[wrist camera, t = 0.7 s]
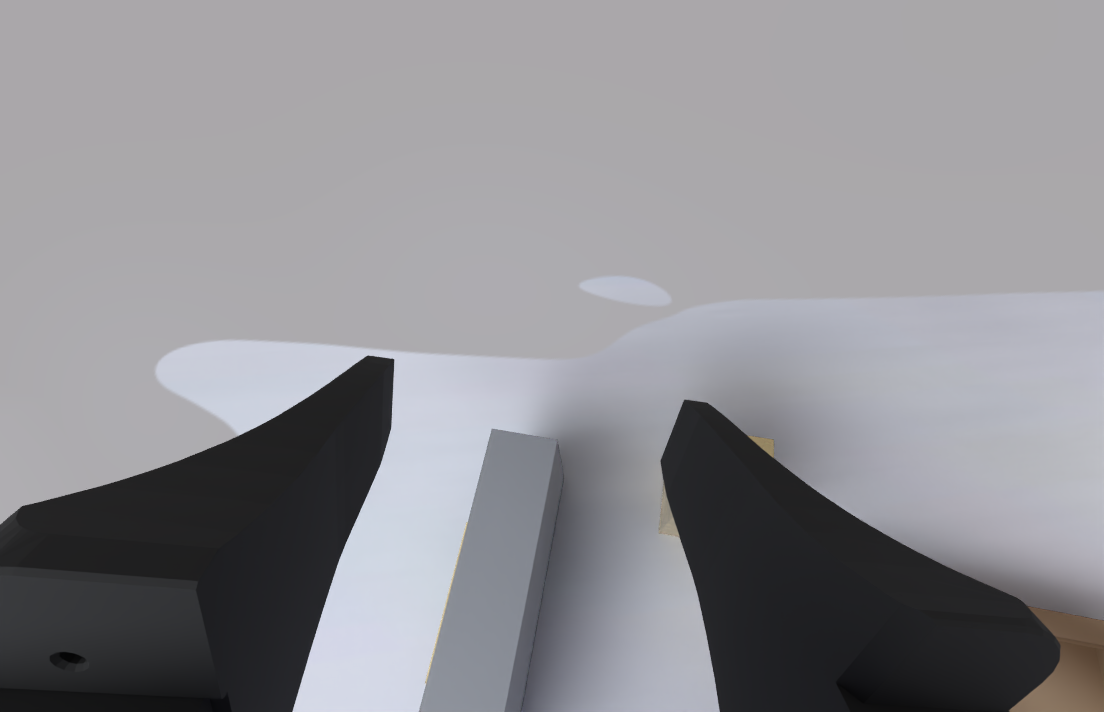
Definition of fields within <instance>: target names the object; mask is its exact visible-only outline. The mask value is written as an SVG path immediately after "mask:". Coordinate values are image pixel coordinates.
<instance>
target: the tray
mask: <svg viewBox="0 0 1104 712" xmlns="http://www.w3.org/2000/svg"><path fill="white" fill-rule="evenodd" d="M1027 607H1028V608H1029V609H1030V610H1031V611H1032V612H1033V613H1034V614H1035V615H1036V616H1037V617H1038V618H1039V619H1040V621H1041V622H1042V623H1043V624H1044V625H1045V626H1046V627H1047V628H1048V629H1049V630H1050V631H1051V632H1052V634H1053V635H1054V636H1055V637H1056V639H1057V640H1058V642H1059V643H1060V645H1061V649H1060V661H1059V663H1058V665H1057V666H1056V668H1055V670H1054V672H1053V673H1052V674H1051V675H1050V676H1049V677H1048V678H1047V679H1046V680H1045V681H1044V682H1043V683H1042V684H1040V685H1039V686H1038V687H1037V688H1036V689H1034V690H1033V691H1032V692H1031V693H1029V694H1028V695H1027V696H1026V697H1025V698H1023V699H1022V700H1021V701H1020V702H1019V703H1017V704H1016V705H1015V706H1014V707H1012V708H1011V709H1010V710H1009V711H1010V712H1104V621H1103V620H1097V619H1092V618H1087V617H1082V616H1076V615H1071V614H1066V613H1061V612H1056V611H1050V610H1045V609H1040V608H1035V607H1029V606H1027Z"/></svg>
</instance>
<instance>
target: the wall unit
mask: <svg viewBox="0 0 1104 712" xmlns="http://www.w3.org/2000/svg"><path fill="white" fill-rule="evenodd" d="M563 480H564V475H563V469H562V464H561V458H560V452H559V446H558V440H556V439H550V438H544V437H538V436H532V435H526V434H520V433H514V432H509V431H503V430H497V429H492V430H491V434H490V438H489V442H488V446H487V450H486V454H485V457H484V461H483V465H482V469H481V473H480V477H479V481H478V485H477V489H476V492H475V496H474V500H473V504H472V508H471V512H470V516H469V520H468V522H467V523H466V527H465V531H464V534H463V538H462V542H461V546H460V550H459V554H458V558H457V562H456V565H455V569H454V573H453V577H452V581H451V585H450V589H449V593H448V596H447V600H446V604H445V608H444V612H443V616H442V620H441V623H440V627H439V631H438V635H437V639H436V643H435V647H434V651H433V654H432V658H431V662H430V666H429V670H428V674H427V678H426V681H425V684H426V687H425V690H424V694H423V698H422V702H421V706H420V710H419V712H521V709H522V704H523V698H524V693H525V687H526V682H527V676H528V671H529V666H530V660H531V655H532V649H533V644H534V638H535V633H536V627H537V622H538V616H539V611H540V605H541V600H542V595H543V589H544V584H545V578H546V573H547V567H548V562H549V556H550V551H551V545H552V540H553V534H554V529H555V524H556V518H557V513H558V507H559V502H560V496H561V491H562V485H563Z"/></svg>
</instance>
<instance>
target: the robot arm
mask: <svg viewBox="0 0 1104 712" xmlns="http://www.w3.org/2000/svg"><path fill="white" fill-rule="evenodd" d="M393 376H394V359H389V358H382V357H375V356H366V357H365V358H363V359H362V360H361V361H359V362H358V363H356V364H355V365H353V366H352V367H351V368H349V369H348V370H347V371H345V372H344V373H342V374H341V375H340V376H338V377H337V378H335V379H334V380H333V381H331V382H330V383H328V384H327V385H325V386H324V387H323V388H321V389H320V390H318V391H317V392H315V393H314V394H312V395H311V396H309V397H308V398H306V399H305V400H303V401H301V402H300V403H298V404H296V405H295V406H293V407H292V408H290V409H288V410H287V411H285V412H283V413H282V414H280V415H278V416H277V417H275V418H273V419H271V420H269V421H267V422H266V423H264V424H262V425H260V426H258V427H256V428H254V429H252V430H250V431H248V432H246V433H244V434H242V435H239V436H237V437H235V438H233V439H231V440H229V441H227V442H224V443H222V444H219V445H217V446H214V447H212V448H209V449H207V450H205V451H202V452H200V453H197V454H195V455H192V456H190V457H187V458H185V459H183V460H180V461H177V462H174V463H172V464H169V465H166V466H163V467H160V468H158V469H154V470H151V471H149V472H145V473H142V474H139V475H136V476H133V477H130V478H127V479H123V480H120V481H117V482H114V483H110V484H107V485H103V486H100V487H96V488H92V489H88V490H84V491H81V492H77V493H73V494H70V495H65V496H62V497H58V498H54V499H50V500H46V501H43V502H38V503H34V504H30V505H25V506H22V507H21V508H20V509H18V510H17V511H16V512H15V513H13V514H12V515H11V516H10V517H9V518H7V519H6V520H5V521H4V522H3V523H2V524H1V525H0V712H292V711H293V708H294V704H295V701H296V697H297V694H298V690H299V687H300V684H301V680H302V677H303V674H304V670H305V667H306V663H307V660H308V657H309V653H310V650H311V647H312V643H313V640H314V637H315V634H316V630H317V627H318V624H319V621H320V618H321V614H322V611H323V608H324V605H325V602H326V598H327V595H328V592H329V589H330V586H331V583H332V580H333V577H334V574H335V571H336V568H337V565H338V562H339V559H340V557H341V554H342V552H343V549H344V546H345V544H346V542H347V539H348V537H349V535H350V533H351V530H352V528H353V526H354V524H355V521H356V519H357V517H358V515H359V512H360V510H361V508H362V506H363V503H364V501H365V499H366V497H367V494H368V492H369V490H370V487H371V485H372V483H373V481H374V478H375V476H376V474H377V471H378V469H379V467H380V464H381V461H382V458H383V455H384V451H385V448H386V444H387V441H388V437H389V434H390V430H391V420H392V398H393ZM661 467H662V474H663V480H664V485H665V490H666V496H667V499H668V502H669V506H670V509H671V512H672V515H673V518H674V521H675V524H676V527H677V530H678V533H679V536H680V539H681V542H682V545H683V548H684V551H685V554H686V557H687V560H688V564H689V567H690V570H691V573H692V576H693V579H694V583H695V586H696V590H697V593H698V597H699V602H700V607H701V611H702V616H703V621H704V625H705V630H706V634H707V640H708V645H709V650H710V656H711V661H712V666H713V672H714V677H715V684H716V690H717V696H718V703H719V709H720V712H1010V711H1009V710H1010V709H1011V708H1012V707H1014V706H1015V705H1016V704H1017V703H1019V702H1020V701H1021V700H1022V699H1023V698H1025V697H1026V696H1027V695H1028V694H1029V693H1031V692H1032V691H1033V690H1034V689H1036V688H1037V687H1038V686H1039V685H1040V684H1042V683H1043V682H1044V681H1045V680H1046V679H1047V678H1048V677H1049V676H1050V675H1051V674H1052V673H1053V672H1054V670H1055V668H1056V666H1057V665H1058V663H1059V661H1060V649H1061V645H1060V643H1059V642H1058V640H1057V639H1056V637H1055V636H1054V635H1053V634H1052V632H1051V631H1050V630H1049V629H1048V628H1047V627H1046V626H1045V625H1044V624H1043V623H1042V622H1041V621H1040V619H1039V618H1038V617H1037V616H1036V615H1035V614H1034V613H1033V612H1032V611H1031V610H1030V609H1029V608H1028V607H1027V606H1026V605H1025V604H1024V603H1023V602H1022V601H1021V600H1019V599H1018V598H1016V597H1014V596H1011V595H1009V594H1007V593H1004V592H1002V591H1000V590H998V589H995V588H993V587H991V586H988V585H986V584H984V583H982V582H979V581H977V580H975V579H973V578H970V577H968V576H966V575H963V574H961V573H959V572H957V571H955V570H952V569H950V568H948V567H946V566H944V565H942V564H940V563H938V562H936V561H934V560H932V559H930V558H928V557H926V556H924V555H922V554H920V553H918V552H916V551H914V550H912V549H911V548H909V547H907V546H905V545H903V544H901V543H899V542H897V541H896V540H894V539H892V538H890V537H889V536H887V535H885V534H883V533H882V532H880V531H878V530H876V529H875V528H873V527H871V526H870V525H868V524H866V523H864V522H863V521H861V520H859V519H858V518H856V517H855V516H853V515H851V514H850V513H848V512H847V511H845V510H844V509H842V508H841V507H839V506H838V505H836V504H835V503H833V502H832V501H830V500H829V499H827V498H826V497H824V496H823V495H821V494H820V493H818V492H817V491H816V490H814V489H813V488H811V487H810V486H809V485H807V484H806V483H805V482H803V481H802V480H801V479H799V478H798V477H797V476H796V475H794V474H793V473H792V472H790V471H789V470H788V469H787V468H785V467H784V466H783V465H781V464H780V463H779V462H778V461H777V460H775V459H774V458H773V457H772V456H770V455H769V454H768V453H767V452H766V451H764V450H763V449H762V448H761V447H760V446H759V445H757V444H756V443H755V442H754V441H753V440H752V439H750V438H749V437H748V436H747V435H746V434H745V433H743V432H742V431H741V430H740V429H739V428H738V427H737V426H735V425H734V424H733V423H732V422H731V421H730V420H728V419H727V418H726V417H725V416H724V415H722V414H721V413H720V412H719V411H717V410H716V409H715V408H714V407H712V406H711V405H709V404H708V403H704V402H697V401H690V400H684V402H683V404H682V407H681V410H680V412H679V415H678V417H677V420H676V423H675V425H674V428H673V430H672V433H671V435H670V438H669V441H668V443H667V446H666V448H665V451H664V453H663V456H662V459H661Z"/></svg>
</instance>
